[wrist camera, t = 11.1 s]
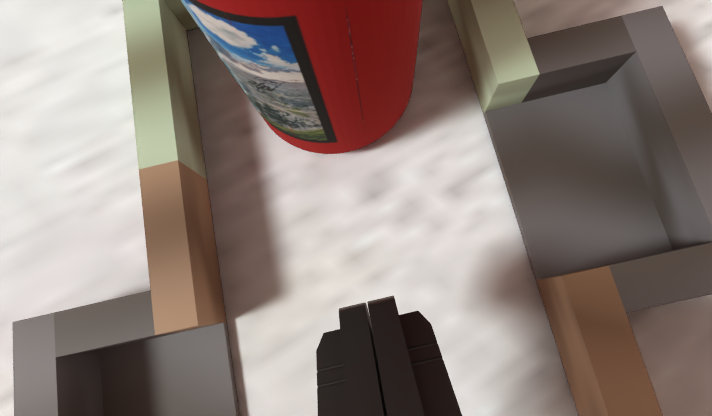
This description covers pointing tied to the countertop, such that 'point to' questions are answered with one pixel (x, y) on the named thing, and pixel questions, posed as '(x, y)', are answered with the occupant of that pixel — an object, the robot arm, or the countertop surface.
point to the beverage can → (318, 64)
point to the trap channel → (523, 181)
